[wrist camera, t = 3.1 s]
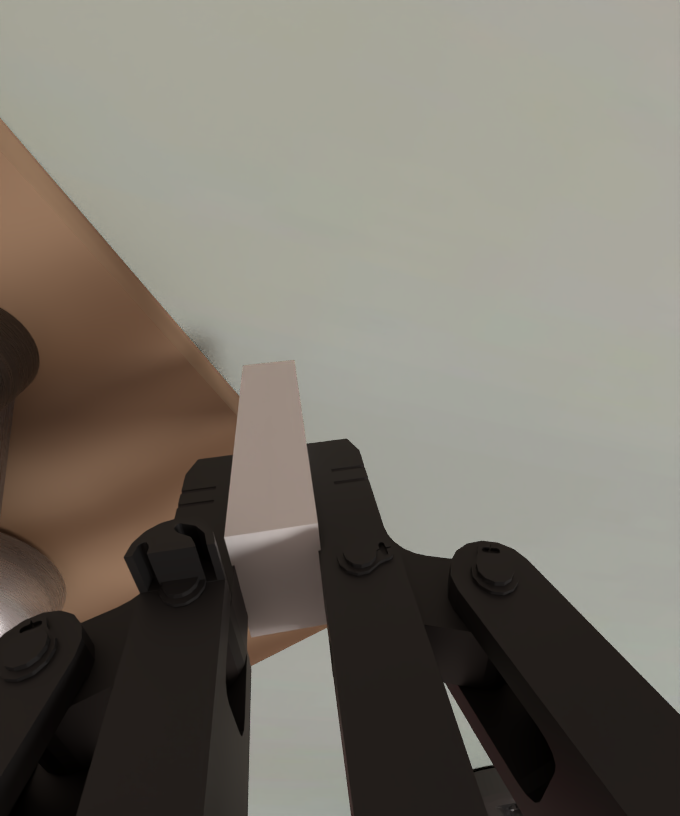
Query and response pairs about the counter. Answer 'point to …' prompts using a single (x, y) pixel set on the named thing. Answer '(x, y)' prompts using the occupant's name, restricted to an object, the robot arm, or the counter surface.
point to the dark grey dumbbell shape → (3, 554)
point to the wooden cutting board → (98, 398)
